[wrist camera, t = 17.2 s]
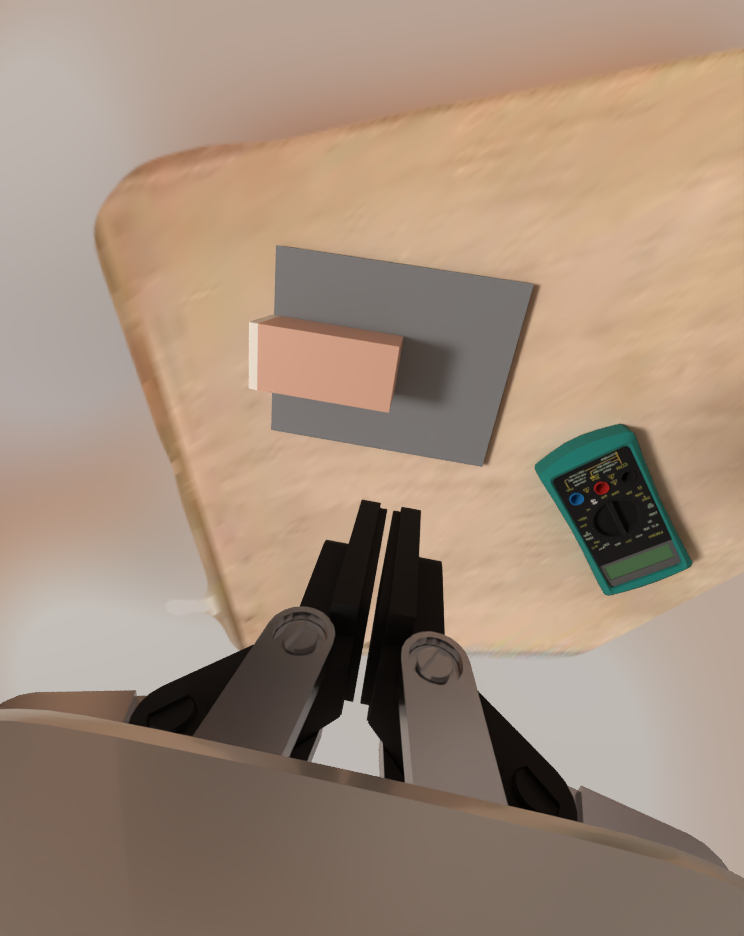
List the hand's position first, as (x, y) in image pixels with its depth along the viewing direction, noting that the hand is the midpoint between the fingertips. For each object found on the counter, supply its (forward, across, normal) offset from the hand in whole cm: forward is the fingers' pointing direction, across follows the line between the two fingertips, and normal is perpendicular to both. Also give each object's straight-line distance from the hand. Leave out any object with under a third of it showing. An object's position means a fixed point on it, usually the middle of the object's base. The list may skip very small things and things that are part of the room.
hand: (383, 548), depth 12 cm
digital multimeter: (+24, -18, +9) cm, 32 cm away
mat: (+23, +2, 0) cm, 23 cm away
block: (+20, +1, 0) cm, 20 cm away
